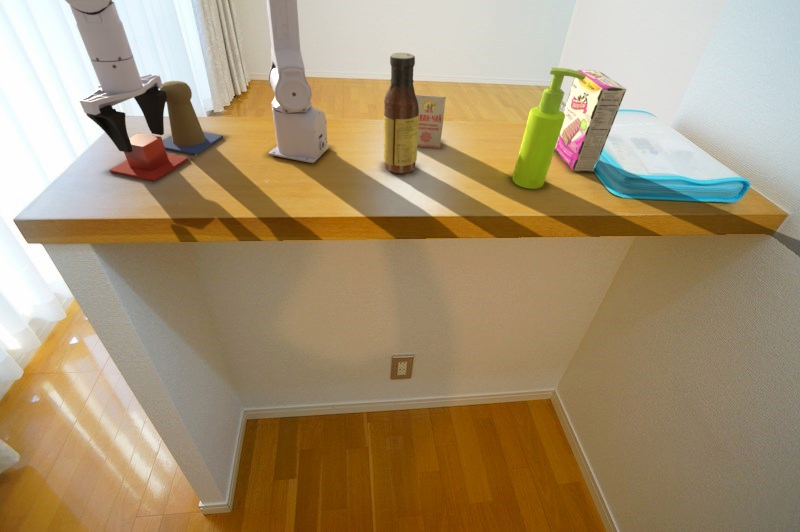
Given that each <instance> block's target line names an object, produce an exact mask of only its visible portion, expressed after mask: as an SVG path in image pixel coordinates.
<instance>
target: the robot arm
mask: <svg viewBox="0 0 800 532" xmlns="http://www.w3.org/2000/svg"><path fill="white" fill-rule="evenodd" d="M64 1H65V2H66V3H67V4H68V5H69V6H70V9H71V12H72V15H73V17H74V20H75V22H76V28H77V30H78V32H79V35H80V38H81V40H82V42H83V45H84V47H85V50H86V52H87V55H88V57H89V60H90V63H91V65H92V67H93V68H92V69H93V70H94V72H95V75H96V77H97V80H98V83H99V84H97V86H98V88H97V89H96V90H95V91H93V92H92V93H90V94H89V95H87V96H86V97H83V98H81V99H79V103H80V106H81V108H82V110H83V112H84V114H86V116H87V117H88V118H89V119H91V120H92V121H93V122H94V123H95V124H96V125H97V126H99V128H100V129H102V131H104V133H105V134H106V135H107V136H108V138H109V139H110V140H111V141H112V143H113V144H114V145H115V147H116V149H118V151H119V152H123V153H124V152H128V153H130V152H132V146H131V142H130V140H129V138H130V137H129V133H128V129H127V124H126V112H123V111H118V110H117V109H116V108H113V107H114V106H116V105H119V104H121V103H123V102H126V101H129V100H131V99H134V100H135V102H136V104H137V105H138V106H139V108H140V110H141V112H142V114H143V117H144V119H145V121H146V124H147V127H148V129H149V131H150V133H151V135H156V136H163V135H164V134H165V126H164V113H165V107H166V104H167V102H166V99H167V94H166V92H165V91H161V90H160V88H162V87H163V85H162V84H163V82H162V78H161V76H160V75H158V74H151V73H149V74H147V75H146V74H145V75H143V76H140V73H139V70H138V66H137V64H136V60H135V57H134V54H133V52H132V49H131V46H130V42H129V40H128V36H127V34H126V29H125V28H124V25H123V22H122V20H121V19H120V17H119V16H120V15H119V13H118V10H117V7H116V5H115V4H116V3H115V1H113V0H64ZM265 1H266V9H267V18H268V27H269V35H270V36H269V37H270V45H271V49H270V60H271V64H270V68H269V71H268V73H267V74H268V76H267V78H268V79H267V80H268V83H269V86H270V88H271V89H272V91H273V93H274V98H273V100H272V101H271V103H270V105H271V111H272V113H271V114H272V119H273V126H274V133H275V140H276V146H275V147H274V148H271V150H269V152H268V155H269V156H271V157H272V156H273V157H277V158H283V159H288V160H293V161H299V162H305V163H309V164H314V163H316V162H317V160H319V158H321V156H322V155H324V154H325V152H326V151H327V150H329V148H330V145H329V143H328V129H327V127H328V125H327V117H326V114H325V112H324V111H323V110H321V109H317V108H316V107H314V106H313V105H312V95H313V93H312V88H311V84H310V83H309V81H308V80H307V77H306V69H305V63H304V60H303V56H302V55H303V54H302V51H301V40H300V39H301V38H300V25H299V13H298V11H299V10H298V0H265Z"/></svg>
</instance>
